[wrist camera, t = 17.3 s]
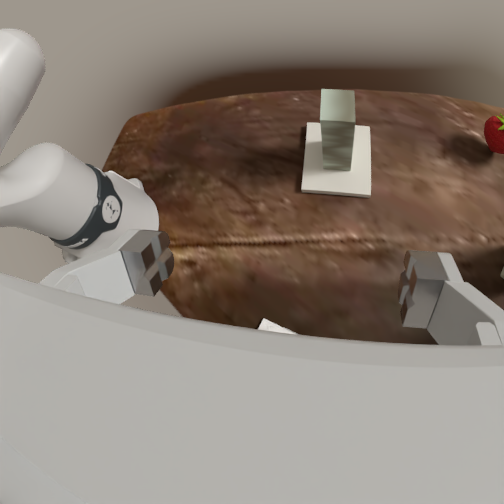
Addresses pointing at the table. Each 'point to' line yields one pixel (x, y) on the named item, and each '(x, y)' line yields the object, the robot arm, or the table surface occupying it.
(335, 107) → the handle block
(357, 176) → the ceramic tile
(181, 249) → the table surface
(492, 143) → the strawberry
